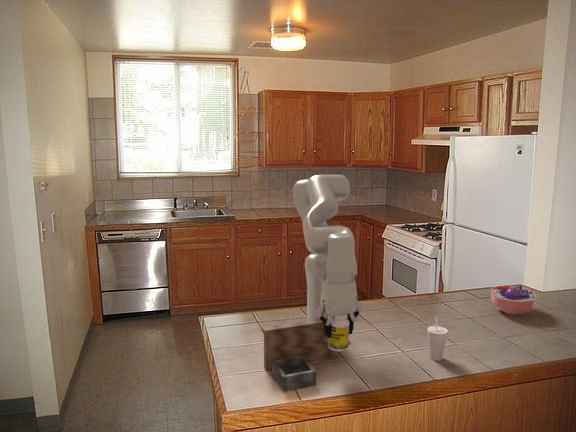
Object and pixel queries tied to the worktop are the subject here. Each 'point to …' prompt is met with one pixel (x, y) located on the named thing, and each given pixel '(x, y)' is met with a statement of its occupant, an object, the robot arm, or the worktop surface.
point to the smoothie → (436, 341)
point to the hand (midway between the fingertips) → (338, 333)
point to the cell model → (513, 299)
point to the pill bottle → (339, 333)
